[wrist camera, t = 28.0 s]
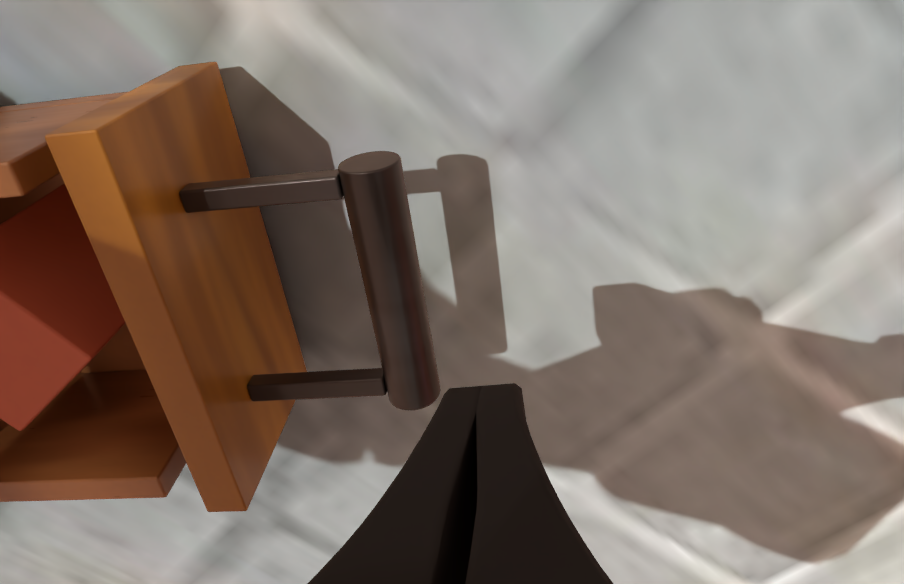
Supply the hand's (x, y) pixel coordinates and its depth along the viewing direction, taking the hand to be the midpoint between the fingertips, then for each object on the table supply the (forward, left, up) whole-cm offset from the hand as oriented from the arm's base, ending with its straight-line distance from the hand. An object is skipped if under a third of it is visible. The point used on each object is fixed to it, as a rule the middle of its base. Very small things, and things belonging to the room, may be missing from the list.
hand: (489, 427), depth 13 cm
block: (+2, -13, -8) cm, 16 cm away
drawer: (+2, -11, -9) cm, 15 cm away
